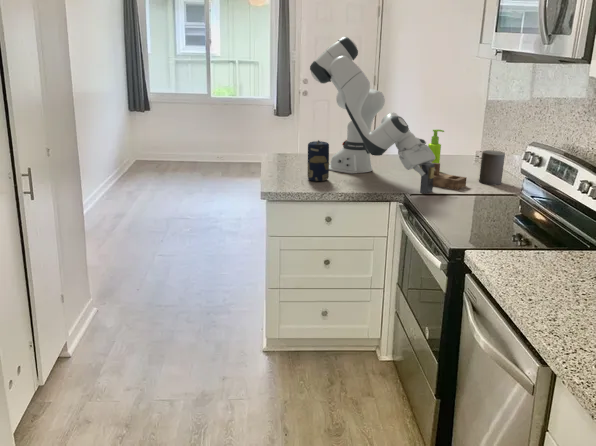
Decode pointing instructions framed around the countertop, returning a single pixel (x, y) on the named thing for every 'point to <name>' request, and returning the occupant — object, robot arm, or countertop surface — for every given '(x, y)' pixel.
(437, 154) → the soap dispenser
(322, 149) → the canister
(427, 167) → the lever cap
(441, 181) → the hand plane
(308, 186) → the countertop surface
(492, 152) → the pillar candle
